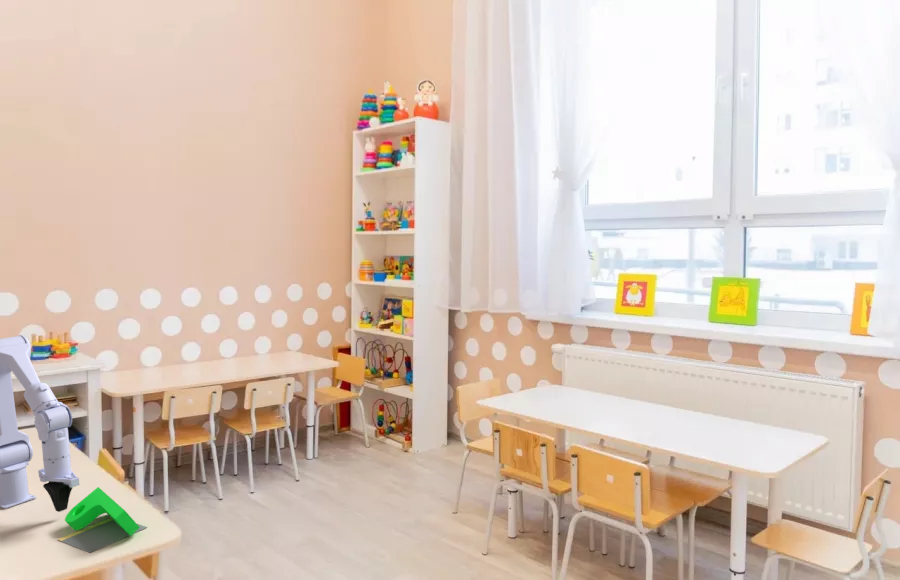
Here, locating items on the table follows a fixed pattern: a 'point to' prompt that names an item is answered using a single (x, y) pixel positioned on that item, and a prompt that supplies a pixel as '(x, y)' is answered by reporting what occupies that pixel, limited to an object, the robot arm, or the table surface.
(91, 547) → the mat
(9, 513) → the table surface
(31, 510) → the table surface
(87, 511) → the bracket
